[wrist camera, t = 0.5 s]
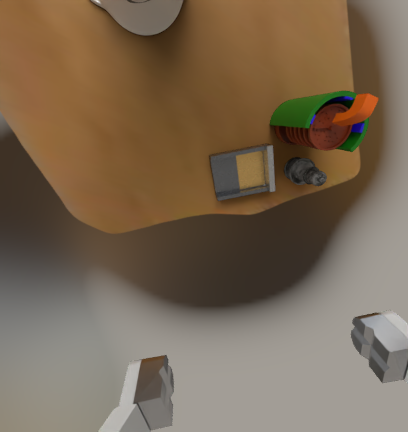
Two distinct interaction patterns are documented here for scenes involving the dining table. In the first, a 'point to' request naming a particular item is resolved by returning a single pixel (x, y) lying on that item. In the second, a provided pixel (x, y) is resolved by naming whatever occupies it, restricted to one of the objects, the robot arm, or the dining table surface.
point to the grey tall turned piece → (304, 172)
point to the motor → (325, 120)
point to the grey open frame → (243, 171)
